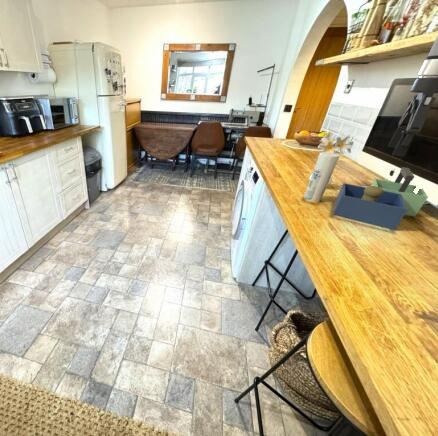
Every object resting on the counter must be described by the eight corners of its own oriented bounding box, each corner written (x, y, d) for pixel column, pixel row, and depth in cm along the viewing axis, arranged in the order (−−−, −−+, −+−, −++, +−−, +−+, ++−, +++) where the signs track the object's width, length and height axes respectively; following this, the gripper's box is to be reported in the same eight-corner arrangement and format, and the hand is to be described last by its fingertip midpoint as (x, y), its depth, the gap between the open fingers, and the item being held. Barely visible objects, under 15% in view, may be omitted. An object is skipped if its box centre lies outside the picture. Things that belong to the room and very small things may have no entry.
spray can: (300, 196, 107) (317, 151, 97) (316, 197, 106) (334, 152, 96) (306, 202, 101) (324, 155, 91) (322, 204, 100) (343, 157, 90)
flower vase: (301, 189, 114) (320, 134, 101) (305, 178, 127) (324, 128, 114) (333, 196, 107) (359, 139, 94) (335, 184, 120) (358, 132, 107)
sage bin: (408, 206, 99) (430, 171, 91) (413, 218, 90) (439, 180, 83) (364, 197, 106) (382, 164, 99) (365, 207, 98) (384, 171, 90)
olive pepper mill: (355, 215, 90) (369, 189, 84) (349, 208, 95) (362, 183, 89) (374, 218, 88) (390, 191, 83) (367, 211, 93) (382, 185, 88)
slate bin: (388, 214, 93) (401, 194, 88) (393, 232, 82) (407, 209, 78) (334, 202, 102) (343, 183, 97) (332, 216, 91) (342, 195, 87)
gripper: (468, 76, 58) (417, 162, 69) (442, 78, 75) (404, 146, 86) (425, 76, 62) (383, 157, 73) (409, 77, 79) (378, 143, 90)
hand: (395, 151), depth 79 cm, fingers open, 13 cm apart
